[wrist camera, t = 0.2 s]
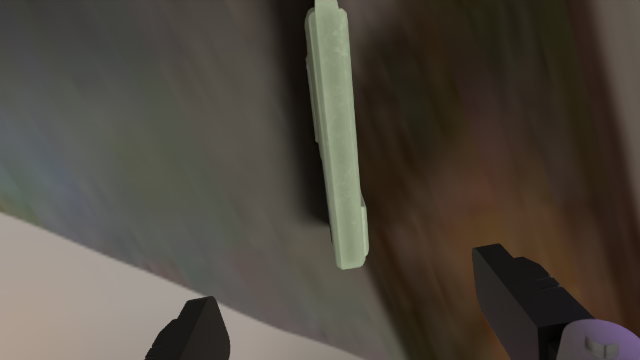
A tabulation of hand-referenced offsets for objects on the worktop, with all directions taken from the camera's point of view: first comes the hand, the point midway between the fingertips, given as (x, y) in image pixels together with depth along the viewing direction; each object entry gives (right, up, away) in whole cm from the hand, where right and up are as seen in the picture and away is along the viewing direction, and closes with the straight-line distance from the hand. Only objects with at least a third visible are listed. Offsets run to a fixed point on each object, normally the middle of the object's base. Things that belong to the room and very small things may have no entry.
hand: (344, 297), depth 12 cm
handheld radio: (0, +11, +20) cm, 23 cm away
